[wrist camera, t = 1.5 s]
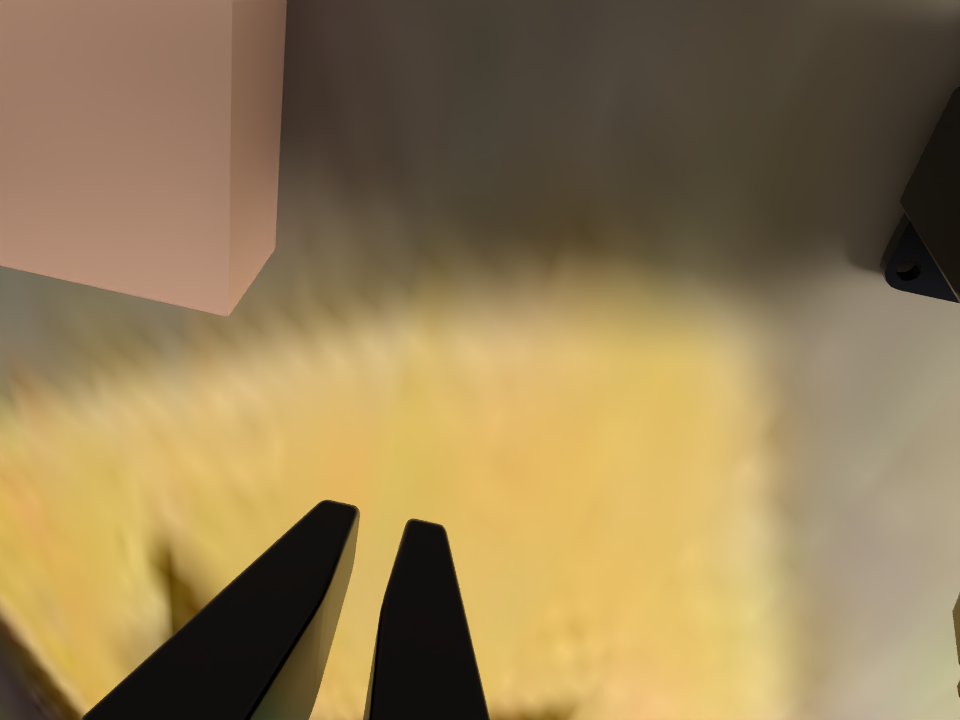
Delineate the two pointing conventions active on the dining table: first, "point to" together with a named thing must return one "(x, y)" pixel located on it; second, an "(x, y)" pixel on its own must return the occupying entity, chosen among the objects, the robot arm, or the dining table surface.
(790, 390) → the dining table surface
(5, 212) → the terracotta block
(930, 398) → the dining table surface
